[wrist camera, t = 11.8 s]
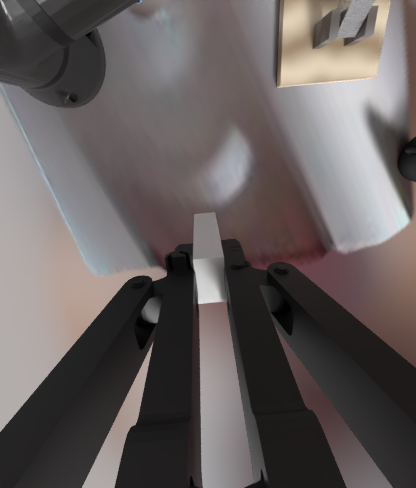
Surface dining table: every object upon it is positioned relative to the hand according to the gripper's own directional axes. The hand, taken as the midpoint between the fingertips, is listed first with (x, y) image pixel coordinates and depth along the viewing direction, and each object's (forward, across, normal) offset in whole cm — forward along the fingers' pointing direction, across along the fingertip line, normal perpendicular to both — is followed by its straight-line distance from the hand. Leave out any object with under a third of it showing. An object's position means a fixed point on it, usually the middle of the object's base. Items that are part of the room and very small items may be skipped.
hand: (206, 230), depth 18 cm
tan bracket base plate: (+32, +22, +23) cm, 46 cm away
